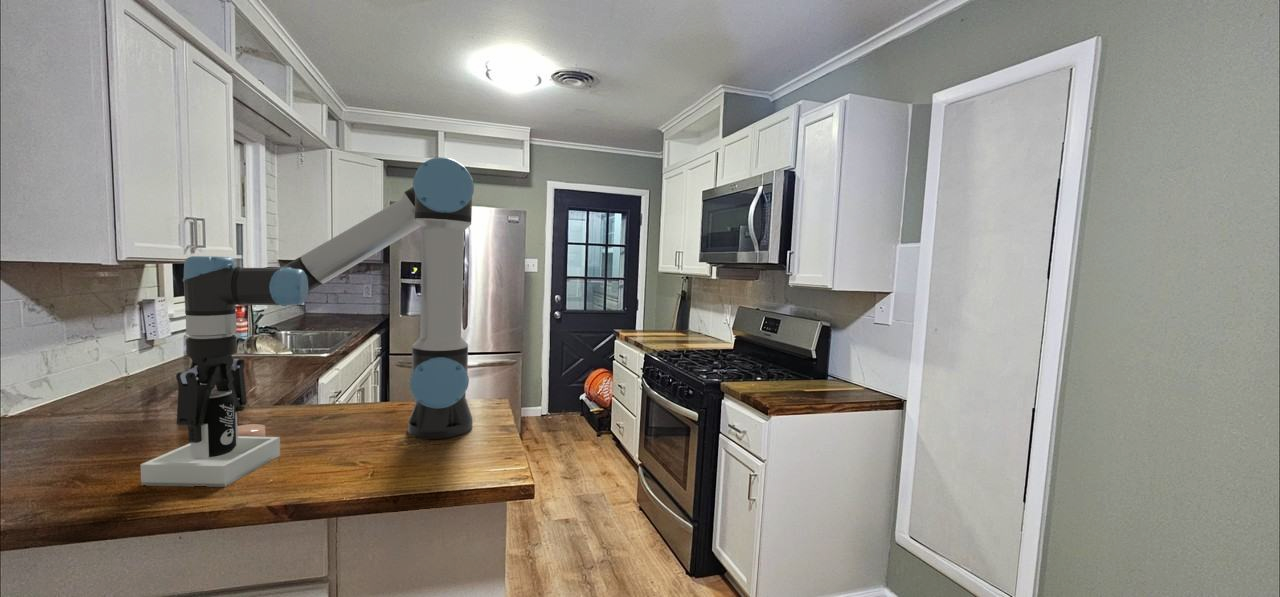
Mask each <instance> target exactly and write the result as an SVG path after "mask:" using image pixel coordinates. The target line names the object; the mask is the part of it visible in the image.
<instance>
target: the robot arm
mask: <svg viewBox="0 0 1280 597" xmlns="http://www.w3.org/2000/svg"><path fill="white" fill-rule="evenodd" d="M474 187H475V185H474V179H473V177H472V175H471V173H470V172H469V171H468V170H467V168H466V167H465V166H464V165H463V164H462V163H460V162H459V161H458V160H455V159H452V158H448V157H445V156H444V157H439V156H438V157H433V158H431V159H428V160H426V161H425V162H423V163H422V164H421V165H420V166H418V168H417V170H416V172H415V173H414V175H413V180H412V187H410V188H409V189H407V190H406V191H404V192H402V196H401V198H400V199H399V200H398V201H396V202H394V203H392V204H390V205H389V206H386V207H385V208H384V209H381V210H380V211H378V212H377V213H374V214H373V215H371V216H369V217H368V218H365V219H364V220H362V221H360V222H359V223H357V224H356V225H355V224H354V225H353V226H352V227H349V228H348V229H346V230H344V231H343V232H341V233H339V234H338V235H336V236H334V237H333V238H331V239H329V240H327V241H325V242H323V243H322V244H320V245H318V246H317V247H315V248H313V249H311V250H309V251H308V252H306V253H304V254H302V255H301V256H299V257H297V258H295V259H294V260H292V261H290V262H288V263H286V264H285V265H283V266H278V267H243V266H242V267H240V266H236V264H235V260H234V258H232V257H230V256H213V255H211V256H210V255H209V256H206V255H205V256H204V255H203V256H202V255H200V256H199V255H196V256H195V255H192V256H188V257H186V258H185V260H184V262H183V264H184V265H183V278H182V282H183V292H184V294H183V295H184V314H185V335H186V336H189V337H187V338H186V340H185V350H186V356H187V357H188V358H190V359H191V364H190V367H189V369H188V370H186V371H185V372H179V371H178V372H177V373H176V376H175V378H176V381H177V385H178V386H177V387H178V390H177V391H178V392H177V408H176V409H177V412H176V413H177V414H176V425H177V426H186V427H187V430H188V432H187V433H188V441H189V443H191V458H207V457H209V444H208V424H203V423H204V419H205V415H206V411H207V405H208V402H209V397H210V394H211V390H215V388H216V390H218V391H229V390H231V391H232V395H233V396H234V397H235V418H236V444H237V443H238V428H237V426H239V412H243V411H244V409H245V406H246V405H247V403H248V401H247V400H248V399H247V392H246V382H245V370H244V369H245V364H246V361H245V359H244V358H242V359H241V358H233V355H235V354H236V353H237V350H238V347H237V346H238V343H237V341H238V340H237V336H236V335H235V333H236V332H237V331H238V330H237V315H236V314H237V312H236V306H281V307H287V306H300V305H302V304H305V302H306V301H307V300H306V299H307V298H308V295H310V294H311V292H312V291H315V290H316V289H318V288H319V287H322V285H324V284H326V283H328V281H331V280H332V279H334V278H336V277H337V276H340V275H341V274H343V273H344V272H346V271H348V270H349V269H351V268H352V267H354V266H356V265H358V264H359V263H361V262H363V261H365V260H366V259H368V258H370V257H372V256H374V255H375V254H376V253H378V252H380V251H382V250H384V249H385V248H387V247H389V246H390V245H392V244H394V243H395V242H397V241H399V240H401V239H402V238H404V237H406V236H408V235H409V234H412V233H413V232H415V230H418V229H419V228H421V233H422V234H421V269H420V270H421V271H420V272H421V273H420V276H421V277H420V279H421V283H420V325H419V326H420V328H419V330H420V331H419V332H420V333H419V338H418V339H417V340H416V341H415V342H414V343H413V344H412V346H411V347H412V349H411V350H412V352H411V353H412V354H411V358H412V359H411V374H410V378H409V389H410V391H411V392H410V393H411V394H412V396H413V397H414V399H415V403H414V405H413V408H412V411H411V415H410V416H409V420H408V426H407V427H408V428H407V430H408V431H407V433H408V434H409V436H411V437H414V438H417V439H424V440H441V439H449V438H453V437H458V436H461V435H464V434H466V433H468V432H469V431H471V430H472V429H473V416H472V413H471V410H470V407H469V404H468V400H467V398H466V397H467V396H466V391H467V390H468V388H469V381H470V380H469V379H470V377H469V375H468V374H469V373H468V365H469V364H468V363H469V362H468V361H469V356H468V355H469V344H468V342H466V340H464V339H463V338H462V328H463V327H462V326H463V325H462V323H463V322H462V321H463V288H464V287H463V284H464V283H463V280H464V249H465V248H464V243H465V242H464V240H465V230H466V229H468V228H469V227H470V226H471V225H472V213H473V212H472V211H473V210H472V209H473V195H474V189H475V188H474ZM196 417H197V419H196Z"/></svg>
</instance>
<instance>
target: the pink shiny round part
mask: <svg viewBox="0 0 1280 597" xmlns="http://www.w3.org/2000/svg"><path fill="white" fill-rule="evenodd" d="M237 428H238V436H249V437H266V425H264V424H260V423H259V424H257V423H251V424H250V423H249V424H242V425H237Z"/></svg>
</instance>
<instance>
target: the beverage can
mask: <svg viewBox="0 0 1280 597" xmlns="http://www.w3.org/2000/svg"><path fill="white" fill-rule="evenodd" d="M196 419H197V417H196ZM203 424H208V444H209V457H215V456H220V455H224V454H227V453H229V452H231V451H232V450H233V449H234V448H235V446H236V418H235V397H234V396H233V395H232V391H231V390H229V391H218V390H217V389H212V390H211V394H210V397H209V402H208V405H207V411H206V415H205V419H204V423H203Z"/></svg>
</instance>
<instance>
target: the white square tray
mask: <svg viewBox="0 0 1280 597" xmlns="http://www.w3.org/2000/svg"><path fill="white" fill-rule="evenodd" d="M280 456H281V437H280V436H278V437H277V436H265V437H249V436H238V443H237V444H236V446H235V448H234V449H233V450H232V451H231V452H229V453H227V454H224V455H220V456H215V457H207V458H191V443H190V442H189V443H187V444H185V445H183V446H181V447H178V448H175V449H173V450H170V451H169V452H166V453H164V454H162V455H159V456H157V457H155V458H152V459H150V460H148V461H145V462H142V463H140V465H139V466H140V481H141V482H140V483H141V485H140V486H143V485H146V486H150V487H151V486H154V487H194V486H207V487H206V488H208V487H209V488H210V487H211V488H212V487H214V488H226V487H227V485H228V486H229V485H231V484H232V483H235V482H237V481H239V480H240V479H241V478H244V477H245V476H247V475H249V474H250V473H253V471H256V470H257V469H259V468H261V467H262V466H265V465H266V464H267V463H269V462H271V461H273V460H275V459H276V458H278V457H280ZM146 486H145V487H146Z"/></svg>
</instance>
